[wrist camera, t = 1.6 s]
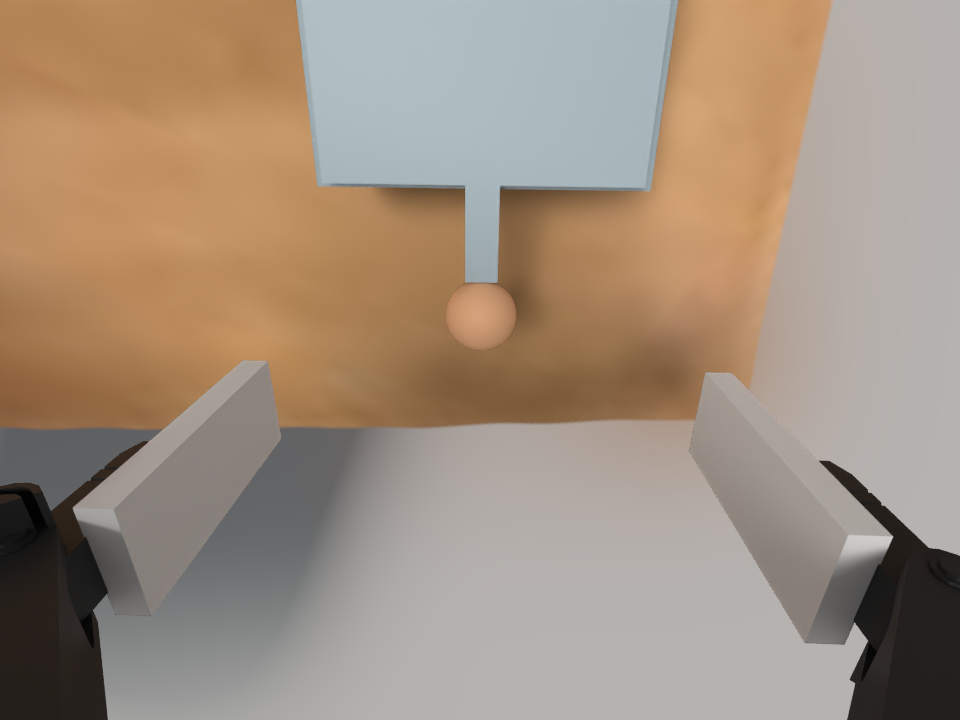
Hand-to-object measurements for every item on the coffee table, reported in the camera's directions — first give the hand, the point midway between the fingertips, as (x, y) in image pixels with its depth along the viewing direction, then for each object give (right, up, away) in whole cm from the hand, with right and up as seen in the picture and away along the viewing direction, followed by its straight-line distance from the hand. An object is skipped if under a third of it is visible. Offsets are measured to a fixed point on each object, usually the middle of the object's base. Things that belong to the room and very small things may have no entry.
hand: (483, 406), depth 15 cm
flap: (0, +12, +5) cm, 13 cm away
